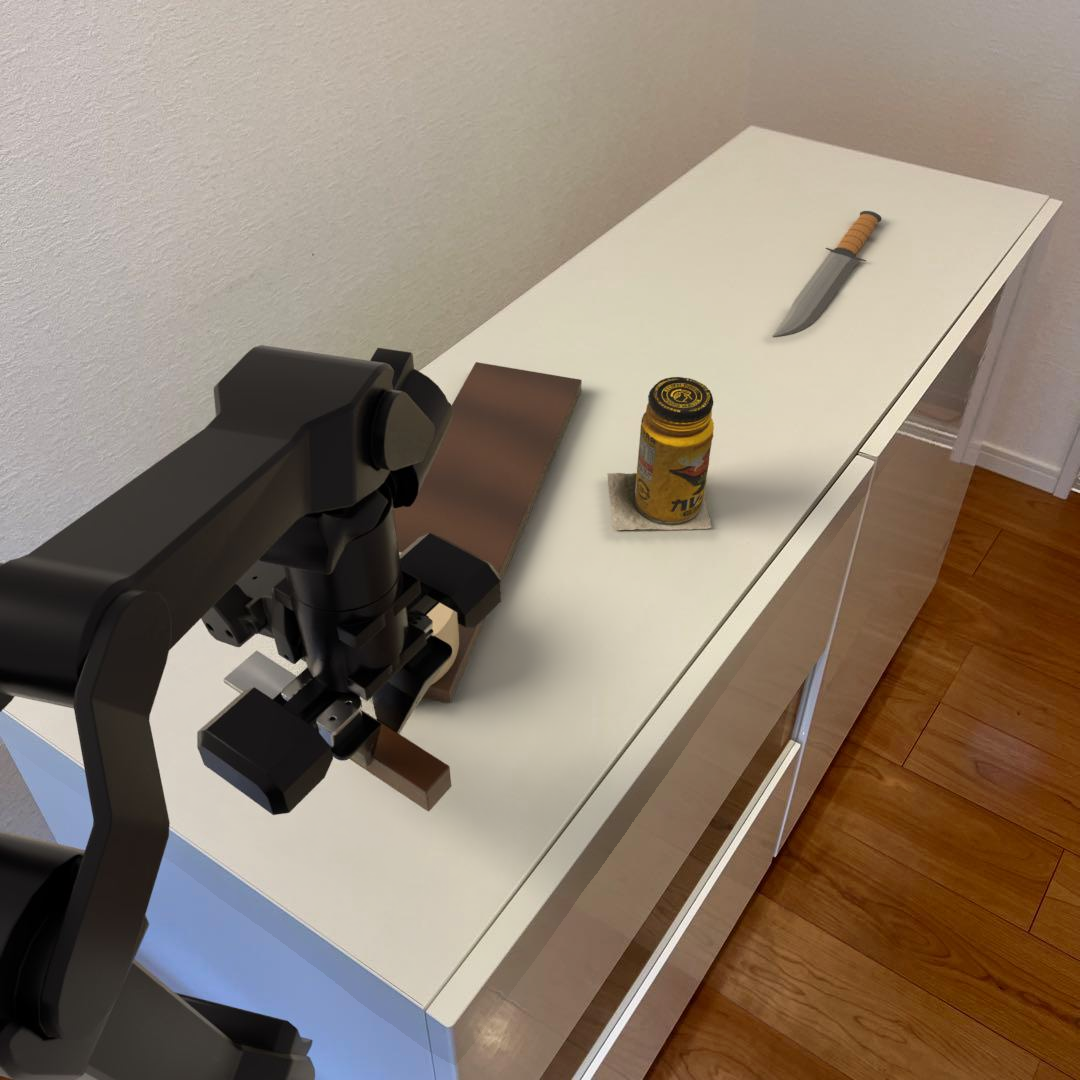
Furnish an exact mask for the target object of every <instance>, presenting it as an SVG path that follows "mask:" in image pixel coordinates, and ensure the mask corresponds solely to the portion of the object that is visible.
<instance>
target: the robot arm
mask: <svg viewBox="0 0 1080 1080" xmlns="http://www.w3.org/2000/svg"><path fill="white" fill-rule="evenodd" d="M213 399H214V415H215V416H214V418H213V419H212V420H211V421H210V422H209V423H208V424H207V425H206V426H205V427H204V428H203V429H202V430H200V431H199V432H198V433H196V434H195V435H193V436H192V437H190V438H189V439H188V440H186V441H185V442H183V443H182V444H180V445H179V446H178V447H176V448H175V449H174V450H172V451H171V452H170V453H168V454H166V455H165V456H164V457H163V458H161V459H159V460H158V461H157V462H155V463H154V464H153V465H151V466H150V467H149V468H147V469H146V470H144V471H143V472H141V473H140V474H139V475H137V476H136V477H134V478H133V479H132V480H130V481H129V482H127V483H126V484H125V485H123V486H122V487H121V488H119V489H118V490H116V491H114V492H113V493H111V494H110V495H109V496H108V497H106V498H105V499H104V500H102V501H101V502H99V503H98V504H97V505H95V506H93V507H92V508H91V509H90V510H88V511H87V512H85V513H84V514H83V515H81V516H80V517H79V518H77V519H75V520H74V521H73V522H71V523H70V524H69V525H67V526H66V527H64V528H63V529H62V530H60V531H58V533H56V534H54V535H53V536H52V537H50V538H49V539H47V540H46V541H45V542H43V543H41V544H40V545H39V546H38V547H37V548H35V549H33V550H32V551H31V552H29V553H27V554H25V555H23V556H20V557H17V558H13V559H9V560H7V561H6V562H0V713H1V712H2V711H3V710H4V709H5V708H6V707H7V706H8V705H9V704H10V703H11V702H12V701H13V700H14V698H15V697H17V698H22V699H26V700H31V701H36V702H40V703H46V704H50V705H56V706H60V707H64V708H69V709H73V711H74V717H75V723H76V729H77V735H78V740H79V746H80V751H81V757H82V762H83V768H84V773H85V774H84V775H85V780H86V786H87V791H88V796H89V801H90V802H89V803H90V807H91V814H92V819H93V821H92V823H93V824H92V827H91V830H90V834H89V837H88V840H87V844H86V846H85V849H82V848H77V847H73V846H69V845H66V844H65V845H64V844H62V843H61V844H60V843H56V842H52V841H48V840H44V839H39V838H35V837H31V836H26V835H22V834H17V833H13V832H9V831H6V830H5V831H4V830H1V829H0V1077H4V1078H7V1079H10V1080H315V1079H316V1069H315V1066H314V1063H313V1061H312V1059H311V1057H310V1056H309V1055H308V1054H309V1052H310V1051H311V1048H312V1046H313V1039H311V1038H307V1037H304V1036H303V1037H302V1036H301V1034H300V1032H299V1030H298V1028H297V1027H296V1026H295V1025H294V1024H292V1023H291V1022H290V1021H289V1020H286V1019H283V1018H278V1017H275V1016H270V1015H266V1014H262V1013H259V1012H255V1011H251V1010H247V1009H243V1008H239V1007H235V1006H231V1005H227V1004H223V1003H219V1002H215V1001H211V1000H207V999H203V998H200V997H196V996H191V995H187V994H183V993H179V992H175V991H174V990H172V989H171V988H170V987H169V986H168V985H166V984H165V983H164V982H163V981H162V980H160V978H158V977H157V976H156V975H154V974H153V973H152V972H151V971H150V970H148V968H146V967H145V966H144V965H142V964H141V963H140V962H139V961H138V960H137V959H136V957H137V954H138V952H139V949H140V947H141V945H142V943H143V940H144V938H145V937H146V936H145V935H146V933H147V931H148V929H149V926H150V922H149V920H148V917H147V911H148V907H149V904H150V901H151V898H152V894H153V891H154V888H155V884H156V881H157V878H158V875H159V871H160V869H161V868H160V867H161V864H162V861H163V858H164V855H165V851H166V847H167V844H168V841H169V838H170V826H171V825H170V824H171V823H170V822H171V821H170V818H169V813H168V808H167V802H166V797H165V792H164V787H163V782H162V777H161V772H160V767H159V763H158V762H159V761H158V758H157V752H156V747H155V742H154V737H153V733H152V727H151V723H150V716H151V712H152V709H153V706H154V703H155V700H156V697H157V694H158V691H159V687H160V684H161V681H162V678H163V674H164V671H165V670H166V669H165V668H166V665H167V662H168V657H169V652H170V651H171V650H172V648H173V647H174V646H175V645H177V643H178V642H179V641H180V640H181V639H183V637H184V636H185V635H186V634H188V632H189V631H190V630H191V629H192V628H193V627H194V626H195V625H196V624H197V623H198V622H199V621H202V623H203V625H204V627H205V628H206V630H207V632H208V634H209V635H210V636H211V637H213V639H215V640H216V641H218V642H221V643H224V644H227V645H229V646H232V647H235V648H241V647H242V646H243V645H244V644H246V643H247V642H248V641H250V640H251V638H253V637H254V636H255V635H261V636H265V637H267V638H270V639H274V643H275V647H276V650H277V654H278V655H279V656H280V657H282V658H283V659H285V660H286V661H288V662H290V663H291V664H292V665H296V664H297V663H298V662H299V661H300V660H302V661H303V662H305V663H306V665H307V667H306V668H304V669H303V670H302V671H301V672H300V673H299V674H298V675H296V676H297V677H296V678H295V679H294V680H293V681H292V682H290V683H289V684H288V685H287V686H286V687H285V688H284V689H283V690H282V691H281V692H280V693H279V694H278V695H277V696H276V697H275V698H273V699H271V698H270V697H268V696H267V695H265V694H264V693H262V692H261V691H259V690H258V689H256V688H255V687H253V688H250V689H246V690H245V691H243V692H242V693H241V694H240V693H239V695H237V696H236V697H235V698H234V699H233V700H232V701H230V703H229V704H227V705H226V706H225V707H224V708H223V709H222V710H220V711H219V712H218V713H217V714H215V716H214V717H213V718H211V719H210V720H209V721H208V722H207V723H205V724H204V726H202V727H201V728H200V729H198V730H197V732H196V733H197V735H196V738H197V739H196V740H197V741H196V743H197V744H196V747H197V750H198V753H199V755H200V758H201V760H202V763H203V765H204V766H205V767H206V768H208V769H209V770H211V771H212V772H213V773H214V774H216V775H217V776H219V777H220V778H222V779H223V780H224V781H225V782H227V783H228V784H229V785H231V786H232V787H234V788H235V789H236V790H238V791H239V792H241V793H242V794H243V795H244V796H246V797H247V798H248V799H250V800H252V802H254V803H256V804H257V805H258V806H260V807H261V808H263V809H264V810H265V811H267V813H269V814H271V815H272V816H277V815H284V814H285V815H286V814H289V813H291V812H292V811H293V810H294V809H295V808H296V807H297V806H298V805H299V804H300V803H301V802H302V801H303V800H304V799H305V798H306V797H307V796H308V795H309V794H310V793H311V792H312V791H313V790H314V789H315V788H316V787H317V786H318V785H319V784H320V783H321V782H322V781H323V780H325V778H326V776H327V773H328V771H329V769H330V766H331V764H332V762H333V761H334V759H335V760H337V761H340V762H341V761H342V762H343V761H348V760H350V758H352V759H353V760H354V761H356V762H357V763H359V764H360V765H362V766H363V767H365V768H367V767H368V766H369V765H370V764H371V761H372V759H373V757H374V753H375V749H376V745H377V741H378V737H379V734H380V730H381V723H383V724H384V725H386V726H387V727H389V728H390V729H392V730H393V731H395V732H397V733H398V734H400V735H401V732H402V731H403V730H404V727H405V726H406V724H407V722H408V721H409V720H410V718H411V716H412V714H413V713H414V711H415V710H416V708H417V707H418V705H419V703H420V702H421V700H422V699H423V698H424V697H423V696H424V694H425V693H426V691H427V690H428V688H429V687H430V685H431V684H432V682H433V681H434V679H435V678H436V676H437V675H438V673H439V672H440V670H441V669H442V667H443V666H444V665H445V664H446V662H447V661H448V660H449V659H450V658H451V656H452V647H451V646H450V645H449V644H448V643H446V642H444V641H443V640H441V639H439V638H438V637H436V636H434V634H433V629H431V628H432V627H433V621H432V620H431V619H430V618H429V616H427V614H428V613H429V612H430V611H431V610H432V609H433V608H435V607H436V606H437V605H438V604H439V603H441V604H443V605H445V606H446V607H448V608H450V609H452V610H453V611H455V612H457V620H458V624H460V625H462V626H464V627H465V628H475V627H476V626H477V625H478V624H479V623H480V622H481V621H482V620H483V619H484V618H485V617H486V616H487V617H488V616H489V615H490V614H491V612H493V610H495V609H496V608H497V606H499V604H500V603H501V602H502V592H501V591H502V590H501V589H502V588H501V587H502V586H501V583H500V577H499V574H498V572H497V571H496V570H495V568H494V567H493V565H492V564H491V563H490V562H488V561H486V560H484V559H482V558H481V557H479V556H477V555H475V554H473V553H471V552H469V551H467V550H465V549H464V548H462V547H460V546H458V545H456V544H454V543H452V542H450V541H448V540H447V539H445V538H443V537H441V536H439V535H435V534H432V533H428V534H426V535H424V536H421V537H419V538H418V539H417V540H416V541H415V542H414V543H412V544H411V545H410V546H409V547H408V548H407V549H406V550H404V551H403V552H402V553H401V554H400V555H399V548H398V540H397V532H396V524H395V516H394V508H399V507H402V506H404V507H410V506H411V505H412V504H413V503H414V501H415V499H416V497H417V495H418V493H419V491H420V489H421V487H422V484H423V482H424V480H425V478H426V476H427V474H428V472H429V470H430V468H431V465H432V463H433V461H434V459H435V457H436V455H437V453H438V451H439V448H440V446H441V444H442V442H443V440H444V438H445V436H446V434H447V432H448V429H449V427H450V425H451V423H452V415H453V412H452V403H450V401H449V400H448V398H447V396H446V395H445V393H444V391H443V390H442V389H441V387H440V386H439V385H438V384H437V383H436V382H435V381H434V380H432V379H431V378H430V377H429V376H428V375H426V374H424V373H423V372H421V371H419V370H418V369H415V365H414V355H413V353H412V352H411V351H403V350H396V349H390V348H382V347H377V348H376V349H375V351H374V353H373V355H372V356H371V358H370V359H369V360H367V359H360V358H353V357H347V356H339V355H333V354H325V353H319V352H313V351H312V352H311V351H307V350H305V351H304V350H299V349H292V348H284V347H277V346H271V345H263V344H262V345H257V346H253V347H252V348H251V349H250V350H248V351H247V352H246V353H245V354H244V355H243V356H242V357H241V358H240V359H239V361H237V363H235V365H234V366H233V367H231V369H230V370H229V371H227V373H226V374H225V375H224V376H223V377H222V378H221V379H220V380H219V381H218V382H217V383H216V384H215V385H214V386H213ZM487 617H486V618H487ZM361 698H362V699H363V700H365V701H366V702H368V701H369V700H370V699H372V704H373V710H374V715H375V719H377V720H378V721H379V722H381V723H379V722H378V721H376V720H375V719H373V718H374V717H373V716H372V717H373V718H372V717H370V716H371V715H370V716H368V715H367V714H368V713H367V714H365V713H364V712H365V711H364V712H362V711H363V710H362V709H363V703H362V702H363V701H362V699H361ZM361 710H362V711H361Z"/></svg>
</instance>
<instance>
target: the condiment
mask: <svg viewBox="0 0 1080 1080" xmlns="http://www.w3.org/2000/svg"><path fill="white" fill-rule="evenodd" d="M713 406H714V398H713V394H712V392H711V390H710V389H709V387H707V386H706V385H705V384H704V383H702V382H700V381H698V380H695V379H693V378H689V377H682V376H671V377H666V378H663V379H661V380H659V381H657V382H656V383H655V384H654V385H653V386H652V388H651V389H650V390H649V393H648V395H647V405H646V409H645V412H644V413H643V415H642V417H641V422H640V431H639V432H640V433H639V440H638V441H639V442H638V443H639V444H638V454H637V455H638V456H637V465H636V472H634V473H625V472H608V473H607V474H606V475H607V483H608V485H607V486H608V493H609V501H610V509H611V516H612V519H611V520H612V524H613V531H621V530H623V531H624V530H627V531H634V530H661V531H662V530H667V531H668V530H671V531H674V530H706V529H712V528H713V526H712V523H711V518H710V514H709V510H708V505H707V501H706V496H705V495H706V494H705V490H706V485H707V480H708V479H707V476H708V471H709V465H710V456H711V449H712V445H713V443H712V442H713V438H714V428H715V424H714V423H715V422H714V419H713V418H712V415H713Z"/></svg>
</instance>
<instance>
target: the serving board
mask: <svg viewBox="0 0 1080 1080" xmlns="http://www.w3.org/2000/svg"><path fill="white" fill-rule="evenodd" d="M582 382H583V381H582V379H579V378H573V377H568V376H561V375H556V374H550V373H543V372H539V371H538V372H537V371H533V370H526V369H520V368H515V367H508V366H501V365H496V364H489V363H484V362H479V361H475V363H474V365H473V366H472V368H471V370H470V371H469V373H468V374H467V377H466V379H465V380H464V382H463V384H462V386H461V388H460V389H459V391H458V393H457V395H456V397H455V399H454V400H453V402H452V403H451V405H452V412H453V415H452V423H451V425H450V427H449V429H448V432H447V434H446V436H445V438H444V440H443V442H442V444H441V446H440V448H439V451H438V453H437V455H436V457H435V459H434V461H433V463H432V465H431V468H430V470H429V472H428V474H427V476H426V478H425V480H424V482H423V484H422V487H421V489H420V491H419V493H418V495H417V497H416V499H415V501H414V503H413V504H412V505H411V506H410V507H404V506H402V507H399V508H394V516H395V524H396V532H397V540H398V548H399V552H403V551H404V550H406V549H407V548H408V547H409V546H410V545H411V544H412V543H414V542H415V541H416V540H417V539H418V538H419V537H421V536H424V535H426V534H428V533H432V534H435V535H439V536H441V537H443V538H445V539H447V540H448V541H450V542H452V543H454V544H456V545H458V546H460V547H462V548H464V549H465V550H467V551H469V552H471V553H473V554H475V555H477V556H479V557H481V558H482V559H484V560H486V561H488V562H490V563H491V564H492V565H493V567H494V568H495V570H496V571H497V572H498V574H499V577H500V584H501V583H502V581H503V578H504V576H505V574H506V572H507V569H508V568H509V567H508V566H509V564H510V561H511V560H512V557H513V555H514V552H515V550H516V549H517V545H518V543H519V540H520V538H521V535H522V534H523V532H524V529H525V526H526V524H527V522H528V520H529V517H530V515H531V512H532V509H533V507H534V505H535V502H536V500H537V498H538V496H539V493H540V491H541V488H542V486H543V483H544V481H545V479H546V477H547V474H548V471H549V469H550V467H551V465H552V462H553V460H554V458H555V455H556V453H557V451H558V448H559V445H560V443H561V441H562V438H563V436H564V434H565V431H566V429H567V428H568V424H569V422H570V420H571V417H572V414H573V412H574V410H575V408H576V405H577V403H578V400H579V398H580V396H581V393H582ZM487 617H488V615H487V616H486V617H485V618H484V619H483V620H482V621H481V622H480V623H479V624H478V625H477V626H476V627H475V628H465V627H464V626H462V625H460V624H458V629H459V649H458V653H457V656H456V659H455V661H454V663H453V665H452V666H451V667H450V669H449V670H448V671H447V672H446V674H445V675H444V676H443V677H442V678H440V679H439V680H438V681H437V682H435V683H434V684H432V685H431V686H430V687H429V688H428V690H427V691H426V693H425V694H424V696H423V697H422V698H426V699H430V700H434V701H438V702H439V701H440V702H442V703H447V704H450V703H451V702H452V700H453V697H454V695H455V692H456V690H457V688H458V685H459V683H460V681H461V678H462V676H463V673H464V671H465V669H466V666H467V664H468V662H469V659H470V657H471V655H472V652H473V650H474V647H475V646H476V643H477V640H478V638H479V636H480V633H481V631H482V629H483V626H484V623H485V622H486V619H487Z"/></svg>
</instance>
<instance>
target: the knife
mask: <svg viewBox="0 0 1080 1080" xmlns="http://www.w3.org/2000/svg"><path fill="white" fill-rule="evenodd" d="M879 222H882V216H881V215H880V214H879V213H878V212H875V211H871V210H863V211H860V212H859V216H858V218H857V219H856V220H855V221H854V222H853V223H852V225H851V226H850V228H849V229H848V230H847V232H846V233H845V234H844V235H843V237H842V238H841V240H840V241H839V243H838V244H837V247H834V249H833V248H830V247H825V249H826V250H828V251H829V253H828V254H827V256H826V257H825V259H824V260H823V261H822V263H821V264H820V265H819V266H818V268H817V269H816V271H815V272H814V273H813V275H812V276H811V278H810V279H809V280H808V282H807V283H806V284H805V285H804V287H803V289H802V290H801V291H800V292H799V294H798V295H797V296H796V298H795V299H794V301H793V303H792V305H791V307H790V309H789V311H788V313H787V314H786V316H785V317H784V318H783V320H782V322H781V323H780V325H779V326H778V327H777V329H776V330H775V332H774V333H773V335H772V337H781V336H782V337H783V336H787V335H792V334H795V333H798V332H800V331H803V330H804V329H806V328H808V327H809V326H812V324H813V323H814V322H815V321H816V320H818V318H819V317H820V316H821V314H823V312H824V311H825V309H826V308H827V307H828V305H829V304H830V303H831V301H832V299H833V298H834V297H835V295H836V293H837V292H838V291H839V289H840V288H841V286H842V285H843V284H844V282H845V281H846V279H847V278H848V276H849V275H850V274H851V272H852V270H853V269H854V267H856V266H857V265H858V264H859V263H860V261H861V262H867V260H866V259H864V258H860V257H858V256H856V254H857V253H858V252H859V250H860V249H861V248H862V246H863V245H864V244H865V242H866V241H867V239H868V238H869V236H870V235H871V233H872V232H873V230H874V229H875V227H876V226H877V224H878V223H879Z"/></svg>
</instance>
